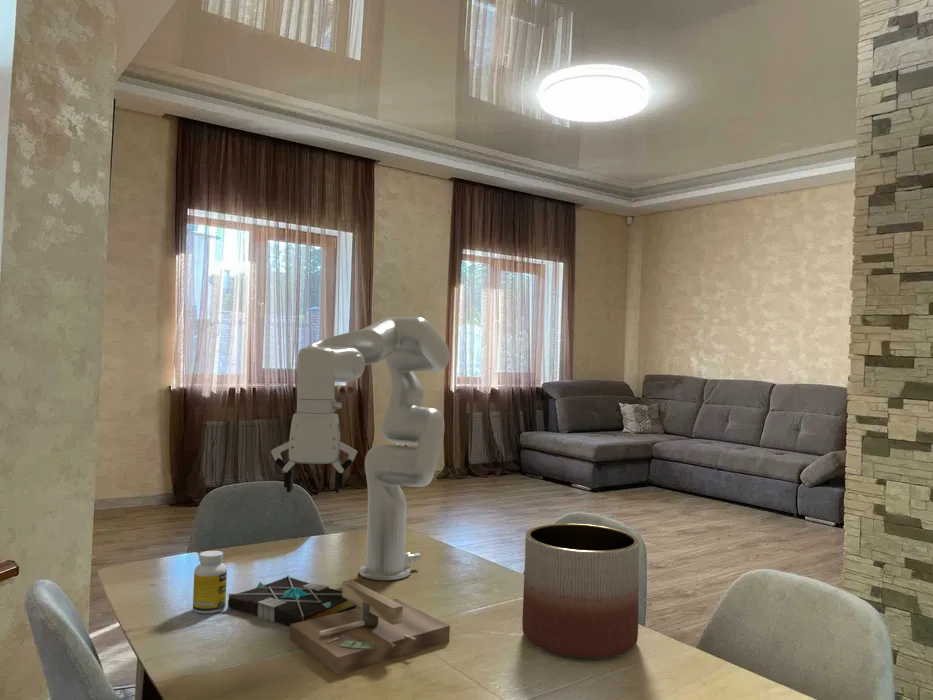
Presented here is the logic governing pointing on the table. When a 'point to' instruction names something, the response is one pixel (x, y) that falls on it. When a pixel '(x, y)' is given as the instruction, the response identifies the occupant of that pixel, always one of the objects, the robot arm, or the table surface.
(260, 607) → the book
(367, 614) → the wooden lever
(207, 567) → the pill bottle
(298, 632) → the dial board
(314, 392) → the robot arm
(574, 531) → the planter
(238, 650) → the table surface
